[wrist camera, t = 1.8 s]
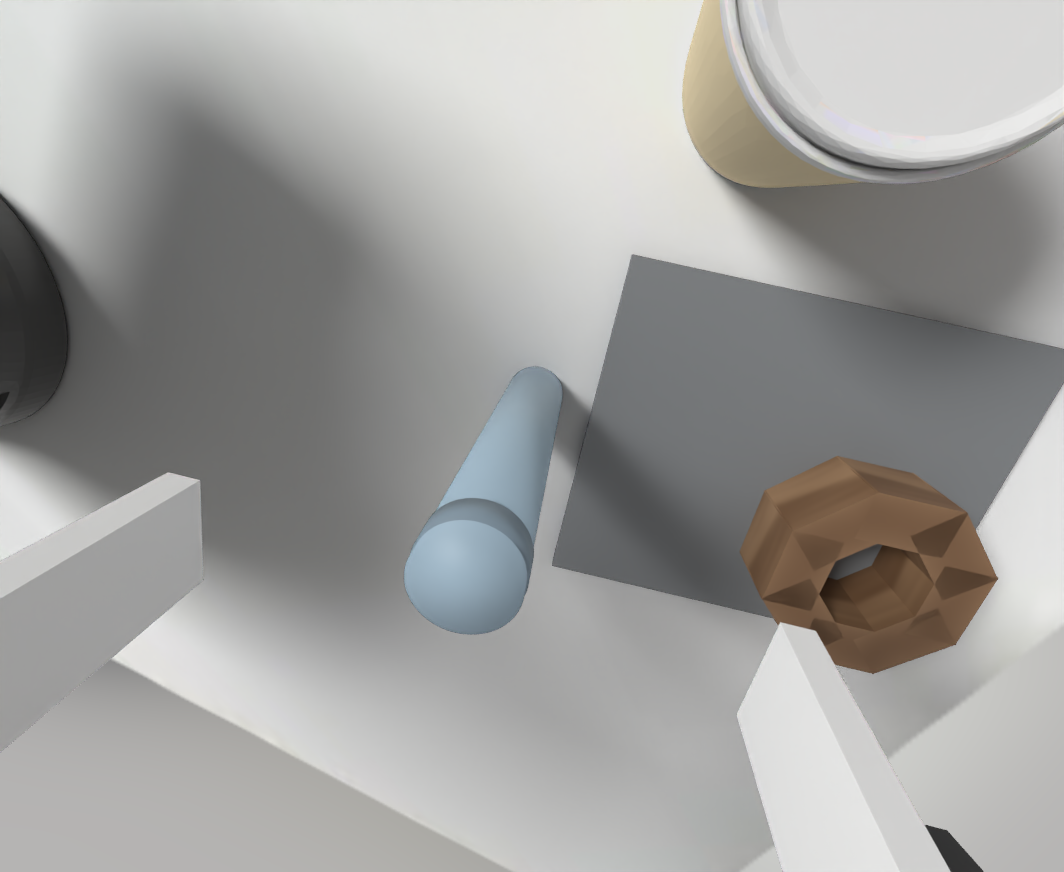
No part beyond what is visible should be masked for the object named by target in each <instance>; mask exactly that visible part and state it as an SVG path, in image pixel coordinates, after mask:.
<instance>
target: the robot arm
mask: <svg viewBox="0 0 1064 872" xmlns="http://www.w3.org/2000/svg"><path fill="white" fill-rule="evenodd" d="M66 354H67V330H66V321H65V315H64V310H63V306H62V302H61V299H60V295H59V292H58V289H57V286H56V283H55V281H54V278H53V276H52V274H51V271H50V269H49V267H48V265H47V263H46V261H45V259H44V257H43V255H42V253H41V252H40V250H39V248H38V246H37V245H36V243H35V242H34V240H33V238H32V237H31V235H30V234H29V232H28V231H27V230H26V228H25V227H24V225H23V224H22V223H21V222H20V220H19V219H18V218H17V216H16V215H15V214H14V213H13V212H12V210H11V209H10V208H9V207H8V206H7V205H6V204H5V203H4V202H3V200H2V199H1V198H0V426H3V425H6V424H10V423H13V422H16V421H19V420H21V419H24V418H26V417H28V416H30V415H32V414H33V413H35V412H36V411H37V410H39V409H40V408H41V407H42V406H43V405H44V404H45V403H46V402H47V401H48V400H49V399H50V397H51V396H52V395H53V393H54V391H55V390H56V388H57V386H58V384H59V382H60V379H61V377H62V374H63V370H64V366H65V361H66ZM203 580H204V578H203V548H202V518H201V488H200V480H198V479H194V478H190V477H186V476H181V475H177V474H173V473H169V472H167V473H166V474H164V475H162V476H160V477H158V478H156V479H154V480H152V481H150V482H149V483H147V484H145V485H143V486H141V487H139V488H137V489H135V490H133V491H132V492H130V493H128V494H126V495H124V496H122V497H120V498H118V499H117V500H115V501H113V502H111V503H109V504H107V505H105V506H103V507H101V508H100V509H98V510H96V511H94V512H92V513H90V514H88V515H86V516H84V517H83V518H81V519H79V520H77V521H75V522H73V523H71V524H69V525H67V526H66V527H64V528H62V529H60V530H58V531H56V532H54V533H52V534H50V535H49V536H47V537H45V538H43V539H41V540H39V541H37V542H35V543H34V544H32V545H30V546H28V547H26V548H24V549H22V550H20V551H18V552H17V553H15V554H13V555H11V556H9V557H7V558H5V559H3V560H1V561H0V752H2V751H3V750H4V749H5V748H6V747H8V745H10V744H11V743H12V742H13V741H14V740H16V739H17V738H18V737H19V736H20V735H22V734H23V733H24V732H25V731H26V730H27V729H29V728H30V727H31V726H32V725H33V724H35V723H36V722H37V721H38V720H39V719H40V718H42V717H43V716H44V715H45V714H46V713H48V712H49V711H50V710H51V709H52V708H53V707H54V706H56V705H57V704H58V703H59V702H60V701H61V700H63V699H64V698H65V697H66V696H67V695H69V694H70V693H71V692H72V691H73V690H74V689H76V688H77V687H78V686H79V685H80V684H82V683H83V682H84V681H85V680H86V679H88V678H89V677H90V676H91V675H92V674H93V673H95V672H96V671H97V670H98V669H99V668H100V667H102V666H103V665H104V664H105V663H106V662H107V661H109V660H110V659H111V658H112V657H113V656H115V655H116V654H117V653H118V652H119V651H120V650H122V649H123V648H124V647H125V646H126V645H128V644H129V643H130V642H131V641H132V640H133V639H135V638H136V637H137V636H138V635H139V634H140V633H142V632H143V631H144V630H145V629H146V628H148V627H149V626H150V625H151V624H152V623H153V622H155V621H156V620H157V619H158V618H159V617H160V616H162V615H163V614H164V613H165V612H166V611H168V610H169V609H170V608H171V607H172V606H173V605H175V604H176V603H177V602H178V601H179V600H180V599H182V598H183V597H184V596H185V595H186V594H188V593H189V592H190V591H191V590H192V589H193V588H195V587H196V586H197V585H198V584H199V583H200V582H202V581H203ZM737 718H738V721H739V725H740V728H741V732H742V735H743V739H744V742H745V745H746V749H747V752H748V756H749V759H750V763H751V766H752V769H753V773H754V776H755V780H756V783H757V787H758V790H759V793H760V797H761V800H762V804H763V807H764V811H765V814H766V817H767V821H768V824H769V828H770V831H771V834H772V838H773V841H774V845H775V848H776V851H777V855H778V858H779V861H780V865H781V869H782V872H983V870H982V869H981V868H980V867H979V866H978V865H977V864H976V862H975V861H974V860H973V859H972V858H971V857H970V856H969V855H968V853H967V852H966V851H965V850H964V849H963V848H962V847H961V846H960V844H958V842H957V841H956V840H955V839H954V838H953V837H952V835H951V834H950V833H949V832H948V831H947V830H943V829H939V828H935V827H931V826H928V825H924V823H923V821H922V820H921V818H920V816H919V815H918V813H917V811H916V809H915V807H914V805H913V804H912V802H911V800H910V798H909V796H908V795H907V793H906V791H905V789H904V787H903V786H902V784H901V782H900V780H899V779H898V777H897V775H896V773H895V771H894V770H893V768H892V766H891V765H890V762H889V761H888V759H887V757H886V755H885V754H884V752H883V750H882V748H881V746H880V745H879V743H878V741H877V739H876V737H875V736H874V734H873V732H872V730H871V729H870V727H869V725H868V723H867V721H866V720H865V718H864V716H863V714H862V712H861V711H860V709H859V707H858V705H857V704H856V702H855V700H854V698H853V696H852V695H851V693H850V691H849V689H848V687H847V686H846V684H845V682H844V680H843V679H842V677H841V675H840V673H839V671H838V670H837V668H836V666H835V664H834V662H833V661H832V659H831V657H830V655H829V654H828V652H827V650H826V648H825V646H824V645H823V643H822V641H821V639H820V637H819V636H818V634H817V632H816V631H814V630H810V629H806V628H802V627H798V626H794V625H790V624H786V623H781V622H780V624H779V626H778V628H777V630H776V632H775V634H774V637H773V639H772V641H771V643H770V645H769V647H768V649H767V651H766V654H765V656H764V658H763V660H762V662H761V664H760V666H759V668H758V670H757V673H756V675H755V677H754V679H753V681H752V683H751V685H750V687H749V689H748V692H747V694H746V696H745V698H744V700H743V702H742V704H741V706H740V709H739V711H738V713H737Z"/></svg>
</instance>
